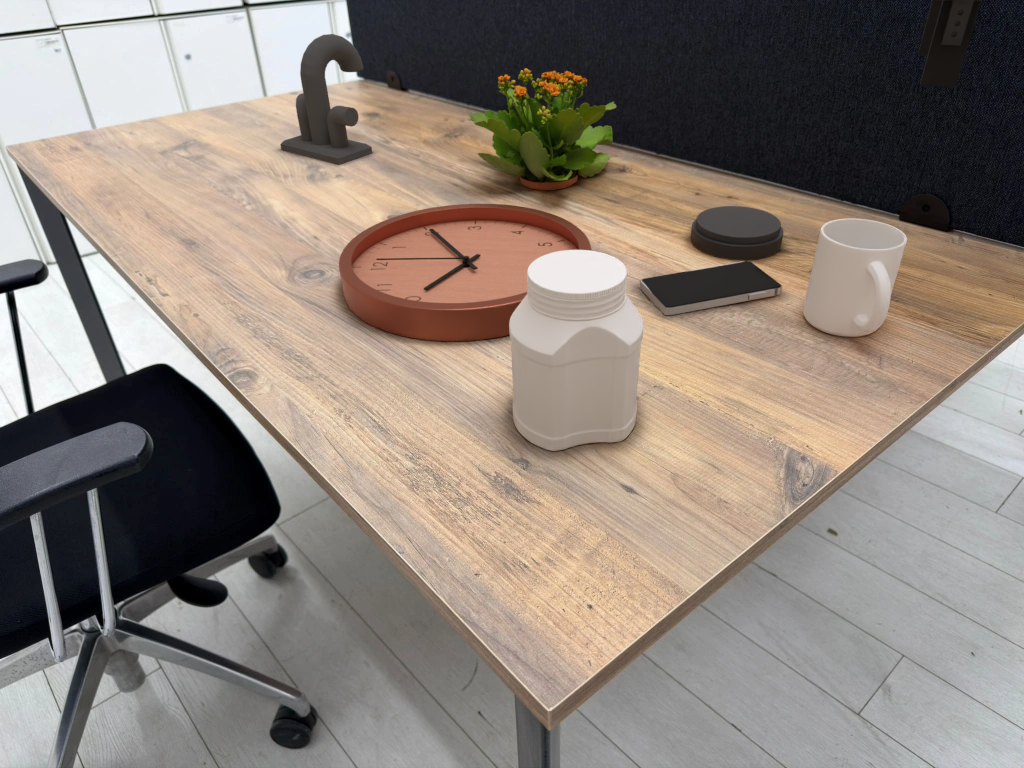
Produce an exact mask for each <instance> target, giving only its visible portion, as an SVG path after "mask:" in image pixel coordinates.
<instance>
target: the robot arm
mask: <svg viewBox="0 0 1024 768" xmlns="http://www.w3.org/2000/svg"><path fill="white" fill-rule="evenodd" d="M981 4H982V0H931V4H930V8H929V11H928V15H927V18H926V22H925V26H924V28H923V29H924V30H923V33H922V37H921V41H920V45H919V48H918V51H917V55H918V56H926V59H925V63H924V67H923V70H922V74H921V78H920V81H919V85H920V86H927V87H928V86H929V87H947V88H957V87H956V86H957V83H958V80H959V77H960V74H961V70H962V66H963V64H964V59H965V57H966V55H967V51H968V46H969V44H970V40H971V38H972V34H973V30H974V27H975V24H976V20H977V18H978V14H979V10H980V7H981Z"/></svg>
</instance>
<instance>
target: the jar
mask: <svg viewBox="0 0 1024 768" xmlns="http://www.w3.org/2000/svg"><path fill="white" fill-rule="evenodd" d="M527 283H528V284H527V289H528V290H527V295H526V296H525V297H524V299H523V300H522V301H521V303H520V304H519V305H518V307H517V308H516V309H515V311H514V312H513V314H512V315H511V318H510V321H509V333H510V335H509V339H510V350H511V351H510V352H511V375H512V376H511V377H512V404H511V405H512V407H511V408H512V420H513V423H514V426H515V428H516V429H517V431H518V432H519V434H521V436H523V438H525V440H527V441H528V442H530V443H531V444H534V445H535V446H537V447H538V448H542V449H544V450H547V451H551V452H559V451H563V450H566V449H570V448H572V447H576V446H580V445H581V446H582V445H586V444H595V443H609V444H612V443H619V442H622V441H624V440H625V439H626V438H627V437H628V436H629V435H630V434H631V433H632V431H633V429H634V427H635V425H636V421H637V411H638V404H637V400H638V399H637V398H638V386H639V372H640V363H641V362H640V361H641V347H642V341H643V339H644V338H643V336H644V320H643V317H642V315H641V314H640V311H638V309H637V308H636V306H635V305H634V303H633V302H632V301H631V299H630V298H629V295H627V287H628V286H627V285H628V268H627V267H626V265H625V264H624V263H623V262H622V261H621V260H620V259H619V258H617V257H615V256H613V255H610V254H609V253H608V254H607V253H604V252H600V251H596V250H591V251H590V250H564V251H557V252H553V253H549V254H546V255H544V256H541V257H539V258H537V259H536V260H534V261H533V262H532V263H531V264H530V266H529V267H528V270H527Z"/></svg>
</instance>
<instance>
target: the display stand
mask: <svg viewBox="0 0 1024 768" xmlns="http://www.w3.org/2000/svg"><path fill="white" fill-rule="evenodd" d="M689 238H690V243H691V245H692V246H693V247H694V248H695V249H697V251H700V252H701V253H704V254H706V255H709V256H711V257H715V258H720V259H724V260H725V259H726V260H732V261H753V260H761V259H765V258H768V257H771V256H774V255H775V254H777V253H778V252H779V251H780V250H781V247H782V243H783V238H784V227H782V223H781V220H780V218H778V217H777V216H775V215H774V214H772V213H771V212H768V211H765V210H763V209H759V208H755V207H749V206H740V205H725V206H715V207H712V208H707V209H705V210H703V211H701V212H700V213H699V214H698V215H697V216H696V219H694V221H693V222H692V223H691V230H690V237H689Z"/></svg>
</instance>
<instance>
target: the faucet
mask: <svg viewBox="0 0 1024 768" xmlns="http://www.w3.org/2000/svg"><path fill="white" fill-rule="evenodd" d="M332 61H335V62H336V63H337V65H338V66H339V69H340V70H341V72H343V73H358V72H362V71H363V70H364V65H363V61H362V57H361V56H360V54H359V50H358V49H357V48H356V47H355V46H354V45H353V44H352V42H351V41H350V40H348V39H347V38H345V37H344V36H342V35H338V34H335V33H328V34H322V35H320V36H318V37H316V38H314V39H313V40H312V41H311V42H310V43H308V45H307V47H306V48H305V50H304V52H303V53H302V58H301V61H300V71H299V77H300V82H301V88H302V93H299V94H298V95H297V96H296V99H295V111H296V116H297V120H298V126H299V131H300V134H299V135H296V136H294V137H290V138H288V139H284V140H283V141H282V142H281V143H280V144H279V145H280V149H281V151H284V152H289V153H291V154H296V155H300V156H303V157H308V158H312V159H316V160H320V161H324V162H327V163H331V164H335V165H342V164H344V163H348V162H351V161H353V160H357V159H359V158H361V157H364V156H367V155H370V154H373V148H372V146H371V145H369V144H367V143H365V142H361V141H356V140H351V139H349V138H348V137H349V136H348V132H347V127H355V126H356V125H357V124H358V122H359V113H358V111H357V109H356V108H354V107H351V106H344V105H334V106H333V107H331V102H330V97H329V91H328V87H327V86H328V85H327V79H326V69H327V66H328V65H329V63H330V62H332ZM346 126H347V127H346Z"/></svg>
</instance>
